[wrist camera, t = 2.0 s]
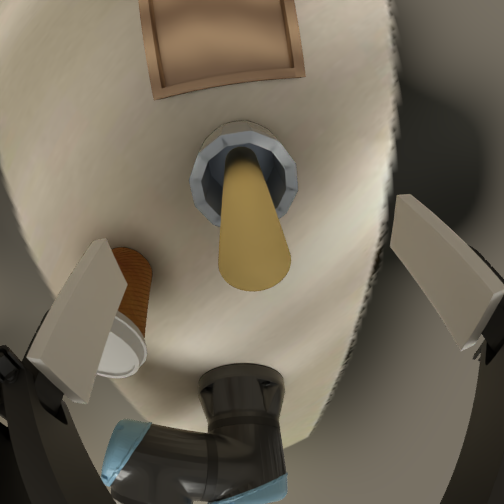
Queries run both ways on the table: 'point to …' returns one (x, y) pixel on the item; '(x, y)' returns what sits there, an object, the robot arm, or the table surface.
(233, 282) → the dowel
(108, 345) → the disposable coffee cup
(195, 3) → the tray
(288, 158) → the pen cup
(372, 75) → the table surface
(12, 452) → the robot arm
